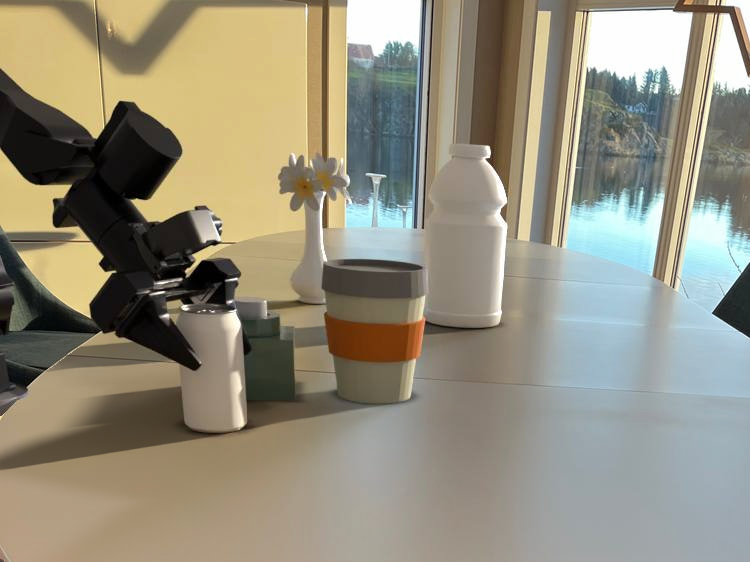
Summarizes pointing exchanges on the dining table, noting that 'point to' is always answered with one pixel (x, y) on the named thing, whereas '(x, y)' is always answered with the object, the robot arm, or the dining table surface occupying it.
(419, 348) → the reusable coffee cup
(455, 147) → the bottle
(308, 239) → the flower vase
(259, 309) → the white button cap
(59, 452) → the dining table surface
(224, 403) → the can
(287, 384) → the button housing
